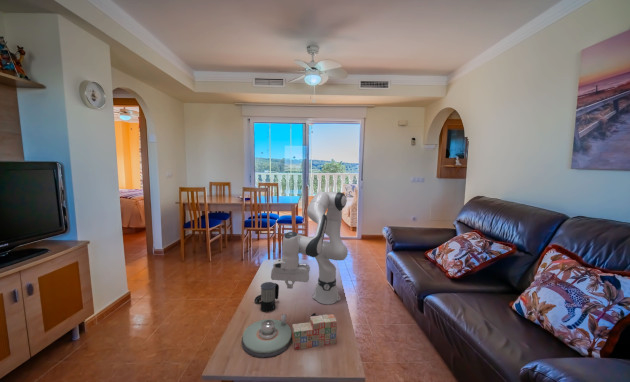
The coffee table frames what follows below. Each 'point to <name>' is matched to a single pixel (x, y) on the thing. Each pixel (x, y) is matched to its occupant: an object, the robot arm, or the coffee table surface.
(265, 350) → the turntable
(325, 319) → the stack of blocks
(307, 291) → the coffee table surface
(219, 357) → the coffee table surface
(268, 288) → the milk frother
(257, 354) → the turntable base
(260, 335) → the cover
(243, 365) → the coffee table surface
